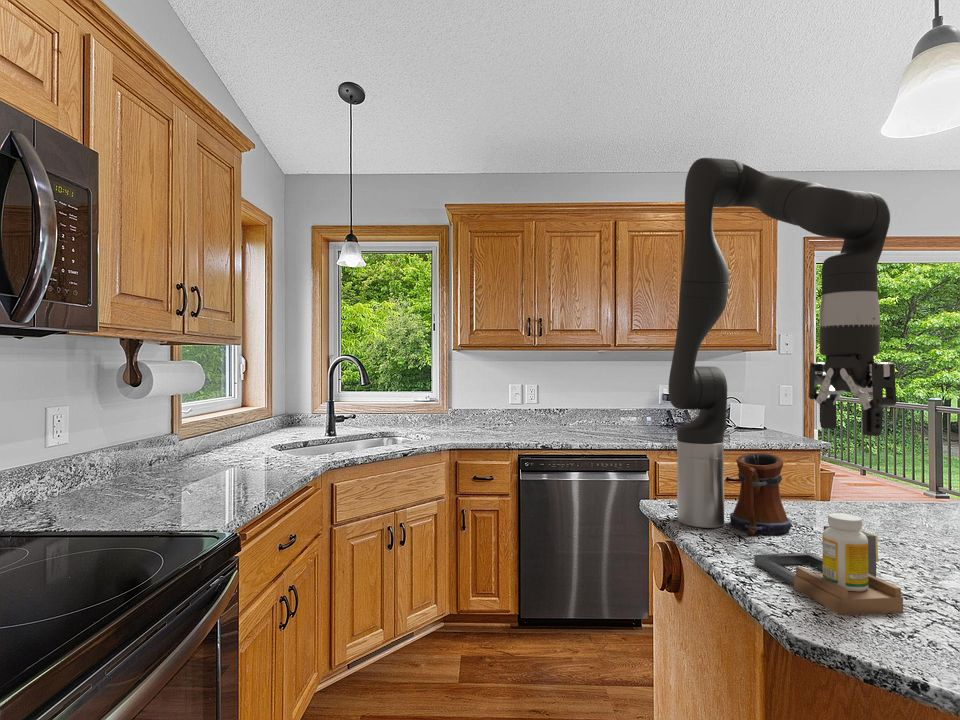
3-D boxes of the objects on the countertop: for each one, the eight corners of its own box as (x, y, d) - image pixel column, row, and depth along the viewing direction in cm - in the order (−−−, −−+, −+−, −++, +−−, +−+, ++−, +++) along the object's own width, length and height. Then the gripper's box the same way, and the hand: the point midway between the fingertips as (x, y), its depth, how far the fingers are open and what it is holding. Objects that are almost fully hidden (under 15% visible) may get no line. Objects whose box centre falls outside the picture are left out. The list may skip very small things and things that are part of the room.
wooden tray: (794, 588, 81) (794, 566, 81) (850, 586, 82) (850, 564, 82) (840, 615, 72) (840, 590, 72) (903, 612, 73) (902, 588, 73)
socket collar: (754, 564, 91) (754, 554, 91) (810, 561, 92) (809, 552, 92) (795, 587, 81) (794, 577, 81) (857, 584, 82) (856, 574, 83)
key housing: (824, 565, 91) (823, 526, 91) (846, 564, 91) (845, 525, 91) (852, 579, 85) (851, 536, 85) (876, 578, 85) (875, 535, 85)
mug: (778, 547, 100) (777, 465, 100) (712, 536, 107) (712, 459, 108) (796, 526, 114) (795, 454, 114) (737, 517, 121) (736, 449, 121)
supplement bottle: (819, 585, 77) (817, 516, 77) (827, 575, 81) (826, 509, 81) (865, 596, 73) (864, 523, 73) (871, 584, 77) (870, 516, 77)
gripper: (913, 320, 76) (913, 438, 76) (837, 327, 90) (837, 426, 90) (862, 320, 75) (862, 438, 75) (794, 326, 89) (793, 426, 89)
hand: (848, 431), depth 82 cm, fingers open, 8 cm apart
